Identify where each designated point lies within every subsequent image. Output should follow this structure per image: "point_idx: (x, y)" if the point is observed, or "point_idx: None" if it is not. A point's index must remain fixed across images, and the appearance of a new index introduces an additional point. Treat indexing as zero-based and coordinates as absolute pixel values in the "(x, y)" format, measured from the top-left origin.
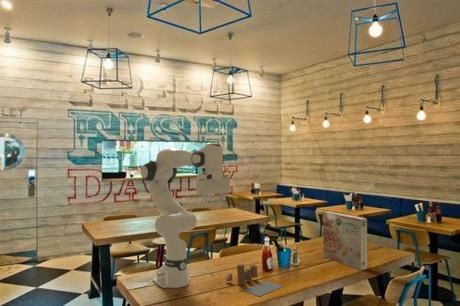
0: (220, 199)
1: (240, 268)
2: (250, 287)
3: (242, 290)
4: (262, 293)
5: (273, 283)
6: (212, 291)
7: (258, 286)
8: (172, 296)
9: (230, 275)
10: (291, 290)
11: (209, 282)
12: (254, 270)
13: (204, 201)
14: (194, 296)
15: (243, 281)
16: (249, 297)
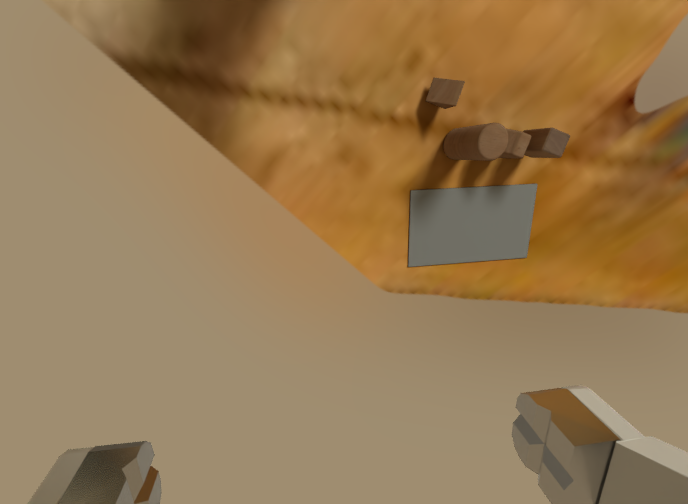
0: (549, 487)
1: (474, 154)
2: (449, 192)
3: (410, 193)
4: (433, 256)
5: (527, 219)
6: (328, 120)
7: (473, 205)
8: (170, 43)
9: (450, 100)
10: (511, 292)
11: (385, 26)
12: (538, 153)
13: (33, 497)
14: (244, 111)
15: (457, 159)
16: (382, 249)
